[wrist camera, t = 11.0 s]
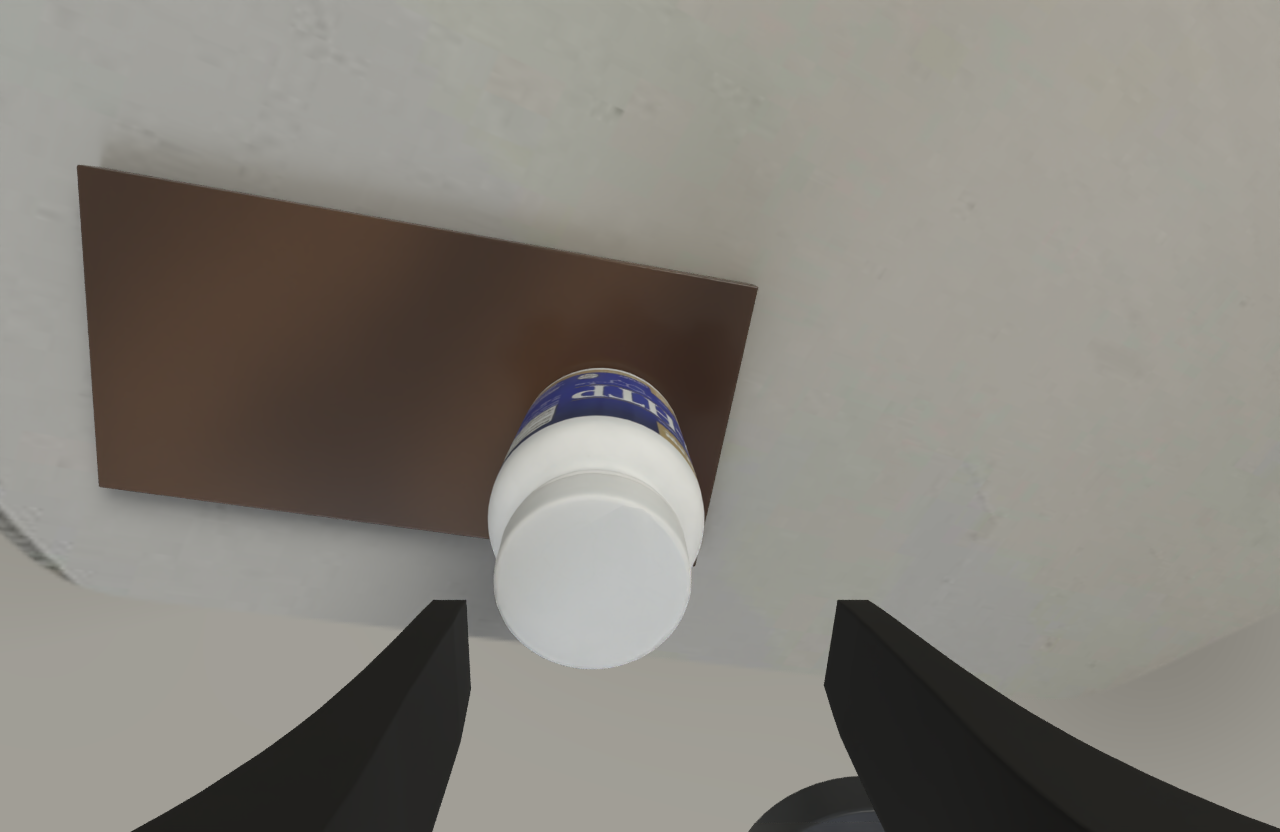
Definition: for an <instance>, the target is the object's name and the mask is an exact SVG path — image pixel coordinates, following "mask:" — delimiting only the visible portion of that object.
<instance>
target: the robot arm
mask: <svg viewBox="0 0 1280 832" xmlns="http://www.w3.org/2000/svg"><path fill="white" fill-rule="evenodd" d="M824 687H825V690H826V693H827V697H828V700H829V703H830V707H831V710H832V713H833V716H834V719H835V722H836V725H837V728H838V731H839V734H840V737H841V739H842V741H843V743H844V745H845V748H846V750H847V752H848V754H849V756H850V759H851V761H852V763H853V765H854V767H855V769H856V772H857V774H858V776H859V778H860V780H861V782H862V784H863V787H864V789H865V791H866V793H867V795H868V797H869V799H870V801H871V804H872V806H873V808H874V810H875V812H876V814H877V816H878V818H879V821H880V823H881V825H882V827H883V829H884V831H885V832H1280V829H1279V828H1276V827H1274V826H1271V825H1268V824H1266V823H1263V822H1260V821H1258V820H1255V819H1252V818H1249V817H1247V816H1244V815H1241V814H1239V813H1236V812H1234V811H1231V810H1229V809H1227V808H1224V807H1222V806H1219V805H1217V804H1215V803H1212V802H1210V801H1207V800H1205V799H1203V798H1200V797H1198V796H1196V795H1193V794H1191V793H1188V792H1186V791H1184V790H1181V789H1179V788H1177V787H1175V786H1173V785H1170V784H1168V783H1166V782H1164V781H1161V780H1159V779H1157V778H1155V777H1153V776H1150V775H1148V774H1146V773H1144V772H1142V771H1140V770H1138V769H1136V768H1134V767H1132V766H1130V765H1128V764H1126V763H1124V762H1122V761H1120V760H1118V759H1115V758H1113V757H1111V756H1109V755H1107V754H1105V753H1103V752H1101V751H1099V750H1097V749H1095V748H1093V747H1092V746H1090V745H1088V744H1086V743H1084V742H1082V741H1080V740H1078V739H1076V738H1075V737H1073V736H1071V735H1069V734H1067V733H1066V732H1064V731H1062V730H1061V729H1059V728H1057V727H1055V726H1053V725H1052V724H1050V723H1048V722H1046V721H1045V720H1043V719H1041V718H1039V717H1038V716H1036V715H1034V714H1032V713H1031V712H1029V711H1027V710H1026V709H1024V708H1023V707H1021V706H1019V705H1018V704H1016V703H1015V702H1013V701H1011V700H1010V699H1008V698H1007V697H1005V696H1004V695H1002V694H1001V693H999V692H998V691H996V690H995V689H993V688H991V687H990V686H988V685H987V684H985V683H984V682H982V681H981V680H979V679H978V678H976V677H975V676H974V675H972V674H971V673H969V672H968V671H966V670H965V669H963V668H962V667H960V666H959V665H958V664H956V663H955V662H953V661H952V660H951V659H949V658H948V657H946V656H945V655H944V654H942V653H941V652H940V651H938V650H937V649H935V648H934V647H933V646H931V645H930V644H929V643H927V642H926V641H925V640H923V639H922V638H920V637H919V636H918V635H916V634H915V633H914V632H912V631H911V630H910V629H908V628H907V627H906V626H904V625H903V624H902V623H900V622H899V621H897V620H896V619H895V618H893V617H892V616H891V615H889V614H888V613H886V612H885V611H884V610H882V609H881V608H879V607H878V606H876V605H875V604H873V603H872V602H870V601H869V600H838V601H837V607H836V614H835V620H834V626H833V632H832V638H831V645H830V651H829V657H828V663H827V669H826V676H825V682H824ZM470 691H471V683H470V664H469V644H468V625H467V606H466V600H433V601H432V602H431V603H430V604H429V605H428V606H427V607H426V608H425V609H424V610H423V611H422V612H421V613H420V614H419V615H418V616H417V617H416V618H415V619H414V620H413V621H412V622H411V623H410V624H409V625H408V626H407V627H406V628H405V629H404V630H403V631H402V632H401V633H400V634H399V636H397V637H396V639H394V640H393V641H392V642H391V643H390V644H389V646H387V647H386V648H385V649H384V650H383V651H382V652H381V653H380V654H379V655H378V656H377V657H376V658H375V659H374V660H373V661H372V662H371V663H370V664H369V665H368V666H367V667H366V668H365V669H364V670H363V671H361V672H360V673H359V674H358V675H357V676H356V677H355V678H354V679H353V680H352V681H351V682H349V683H348V684H347V685H346V686H345V687H344V688H342V689H341V690H340V691H339V692H338V693H337V694H336V695H335V696H333V697H332V698H331V699H330V700H329V701H328V702H327V703H326V704H324V705H323V706H322V707H321V708H320V709H318V710H317V711H316V712H315V713H314V714H312V715H311V716H310V717H308V718H307V719H306V720H305V721H303V722H302V723H301V724H300V725H298V726H297V727H296V728H294V729H293V730H291V731H290V732H289V733H288V734H286V735H285V736H284V737H282V738H281V739H279V740H278V741H277V742H275V743H274V744H273V745H271V746H270V747H268V748H267V749H265V750H264V751H263V752H261V753H260V754H259V755H257V756H255V757H254V758H252V759H251V760H249V761H248V762H246V763H244V764H243V765H241V766H240V767H238V768H237V769H235V770H234V771H232V772H231V773H229V774H228V775H226V776H224V777H223V778H221V779H220V780H218V781H217V782H215V783H214V784H212V785H211V786H209V787H208V788H206V789H205V790H203V791H201V792H200V793H198V794H197V795H195V796H193V797H192V798H190V799H188V800H186V801H185V802H183V803H181V804H179V805H178V806H176V807H174V808H173V809H171V810H169V811H167V812H166V813H164V814H162V815H160V816H158V817H157V818H155V819H153V820H151V821H149V822H148V823H146V824H144V825H142V826H140V827H139V828H137V829H135V830H133V831H131V832H432V831H433V828H434V824H435V821H436V818H437V815H438V812H439V808H440V806H441V803H442V799H443V796H444V793H445V790H446V787H447V784H448V780H449V777H450V774H451V771H452V768H453V765H454V761H455V758H456V755H457V752H458V748H459V745H460V742H461V737H462V732H463V727H464V722H465V717H466V712H467V707H468V701H469V696H470Z"/></svg>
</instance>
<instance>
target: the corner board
mask: <svg viewBox="0 0 1280 832" xmlns="http://www.w3.org/2000/svg"><path fill="white" fill-rule="evenodd" d="M77 175H78V190H79V204H80V219H81V233H82V248H83V262H84V277H85V291H86V306H87V320H88V335H89V349H90V364H91V378H92V393H93V407H94V421H95V436H96V450H97V465H98V479H99V487H104V488H112V489H119V490H127V491H134V492H142V493H149V494H157V495H164V496H172V497H179V498H187V499H194V500H201V501H209V502H216V503H224V504H231V505H239V506H246V507H254V508H261V509H269V510H276V511H284V512H291V513H299V514H306V515H314V516H321V517H328V518H336V519H343V520H351V521H358V522H366V523H373V524H381V525H388V526H396V527H403V528H411V529H418V530H426V531H433V532H441V533H448V534H456V535H463V536H470V537H478V538H485V539H490V537H489V530H488V507H489V501H490V497H491V493H492V489H493V486H494V483H495V480H496V477H497V475H498V473H499V470H500V468H501V466H502V464H503V462H504V460H505V457H506V455H507V453H508V451H509V449H510V447H511V444H512V442H513V440H514V438H515V436H516V434H517V432H518V430H519V428H520V426H521V424H522V422H523V420H524V418H525V416H526V414H527V412H528V410H529V409H530V407H531V405H532V404H533V402H534V401H535V400H536V398H537V397H538V396H539V395H540V394H541V393H542V392H543V391H544V390H545V389H546V388H547V387H548V386H549V385H551V384H552V383H554V382H555V381H557V380H558V379H560V378H562V377H564V376H566V375H568V374H571V373H573V372H577V371H580V370H585V369H592V368H610V369H616V370H621V371H625V372H628V373H631V374H633V375H635V376H637V377H639V378H641V379H643V380H645V381H646V382H648V383H649V384H650V385H652V386H653V387H654V388H655V389H656V390H657V391H658V392H659V393H660V394H661V395H662V396H663V397H664V398H665V400H666V401H667V402H668V404H669V405H670V407H671V408H672V410H673V412H674V414H675V416H676V419H677V421H678V424H679V427H680V430H681V433H682V436H683V439H684V442H685V445H686V448H687V451H688V454H689V457H690V459H691V462H692V465H693V468H694V471H695V474H696V477H697V480H698V484H699V487H700V490H701V495H702V500H703V506H704V525H705V520H706V516H707V512H708V507H709V503H710V498H711V494H712V489H713V485H714V481H715V476H716V472H717V467H718V463H719V458H720V454H721V450H722V445H723V441H724V436H725V432H726V427H727V423H728V419H729V414H730V410H731V405H732V401H733V396H734V392H735V388H736V383H737V379H738V374H739V370H740V365H741V361H742V357H743V352H744V348H745V343H746V339H747V335H748V330H749V326H750V321H751V317H752V312H753V308H754V304H755V299H756V295H757V290H758V287H757V286H755V285H753V284H748V283H742V282H737V281H731V280H726V279H720V278H715V277H709V276H703V275H698V274H692V273H687V272H681V271H676V270H670V269H664V268H659V267H653V266H648V265H642V264H637V263H631V262H625V261H620V260H614V259H609V258H603V257H597V256H592V255H586V254H581V253H575V252H570V251H564V250H558V249H553V248H547V247H542V246H536V245H531V244H525V243H519V242H514V241H508V240H503V239H497V238H492V237H486V236H480V235H475V234H469V233H464V232H458V231H453V230H447V229H441V228H436V227H430V226H425V225H419V224H414V223H408V222H402V221H397V220H391V219H386V218H380V217H375V216H369V215H363V214H358V213H352V212H347V211H341V210H336V209H330V208H324V207H319V206H313V205H308V204H302V203H296V202H291V201H285V200H280V199H274V198H269V197H263V196H257V195H252V194H246V193H241V192H235V191H230V190H224V189H218V188H213V187H207V186H202V185H196V184H191V183H185V182H179V181H174V180H168V179H163V178H157V177H152V176H146V175H140V174H135V173H129V172H124V171H118V170H113V169H107V168H101V167H95V166H86V165H77ZM697 556H698V555H697ZM696 560H697V558H696ZM696 560H695V562H694V564H693V566H695V565H696Z"/></svg>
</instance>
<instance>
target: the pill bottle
mask: <svg viewBox="0 0 1280 832" xmlns="http://www.w3.org/2000/svg"><path fill="white" fill-rule="evenodd" d="M488 530H489V537H490V541H491V546H492V549H493V552H494V554H495V557H496V562H495V568H494V576H493V586H494V594H495V600H496V604H497V607H498V610H499V612H500V614H501V616H502V618H503V620H504V622H505V624H506V626H507V627H508V628H509V630H510V631H511V632H512V634H513V635H514V636H515V637H516V638H517V639H518V640H519V641H520V642H521V643H522V644H523V645H524V646H526V647H527V648H528V649H530V650H532V651H533V652H534V653H536V654H537V655H539V656H540V657H542V658H544V659H547V660H549V661H551V662H554V663H557V664H560V665H563V666H568V667H573V668H578V669H605V668H612V667H617V666H621V665H624V664H627V663H630V662H632V661H635V660H638V659H640V658H642V657H643V656H645V655H647V654H648V653H650V652H652V651H653V650H654V649H656V648H657V647H658V646H659V645H661V644H662V643H663V642H664V641H665V640H666V639H667V638H668V637H669V636H670V635H671V634H672V633H673V632H674V630H675V629H676V627H677V626H678V624H679V622H680V621H681V619H682V617H683V615H684V613H685V610H686V607H687V605H688V602H689V598H690V593H691V568H692V566H693V564H694V562H695V560H696V558H697V555H698V552H699V550H700V547H701V544H702V538H703V532H704V506H703V500H702V495H701V490H700V487H699V484H698V480H697V477H696V474H695V471H694V468H693V465H692V462H691V459H690V457H689V454H688V451H687V448H686V445H685V442H684V439H683V436H682V433H681V430H680V427H679V424H678V421H677V419H676V416H675V414H674V412H673V410H672V408H671V407H670V405H669V404H668V402H667V401H666V400H665V398H664V397H663V396H662V395H661V394H660V393H659V392H658V391H657V390H656V389H655V388H654V387H653V386H652V385H650V384H649V383H648V382H646V381H645V380H643V379H641V378H639V377H637V376H635V375H633V374H631V373H628V372H625V371H621V370H616V369H610V368H592V369H585V370H580V371H577V372H573V373H571V374H568V375H566V376H564V377H562V378H560V379H558V380H557V381H555V382H554V383H552V384H551V385H549V386H548V387H547V388H546V389H545V390H544V391H543V392H542V393H541V394H540V395H539V396H538V397H537V398H536V400H535V401H534V402H533V404H532V405H531V407H530V409H529V410H528V412H527V414H526V416H525V418H524V420H523V422H522V424H521V426H520V428H519V430H518V432H517V434H516V436H515V438H514V440H513V442H512V444H511V447H510V449H509V451H508V453H507V455H506V457H505V460H504V462H503V464H502V466H501V468H500V470H499V473H498V475H497V477H496V480H495V483H494V486H493V489H492V493H491V497H490V501H489V507H488Z"/></svg>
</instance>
